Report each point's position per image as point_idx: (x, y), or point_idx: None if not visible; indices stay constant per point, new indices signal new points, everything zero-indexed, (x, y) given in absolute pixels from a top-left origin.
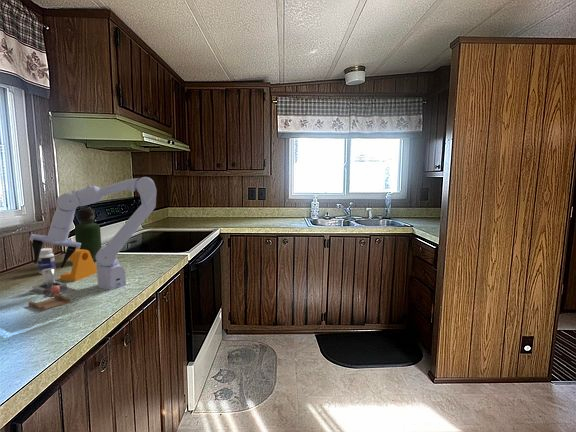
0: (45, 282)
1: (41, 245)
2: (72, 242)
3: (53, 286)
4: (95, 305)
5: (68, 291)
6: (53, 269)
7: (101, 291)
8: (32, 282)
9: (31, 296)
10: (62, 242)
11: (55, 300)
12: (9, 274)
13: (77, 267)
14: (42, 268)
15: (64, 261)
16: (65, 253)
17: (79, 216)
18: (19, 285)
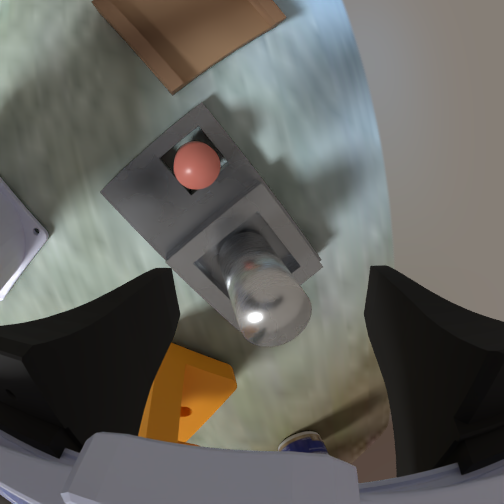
0: (268, 251)
1: (427, 429)
2: (5, 494)
3: (207, 171)
4: (11, 3)
5: (136, 179)
6: (241, 311)
7: (4, 180)
8: (328, 370)
9: (306, 202)
10: (48, 498)
11: (168, 37)
12: (380, 421)
13: (149, 399)
14: (314, 444)
15: (126, 289)
16: (77, 331)
17: None
18: (361, 346)
